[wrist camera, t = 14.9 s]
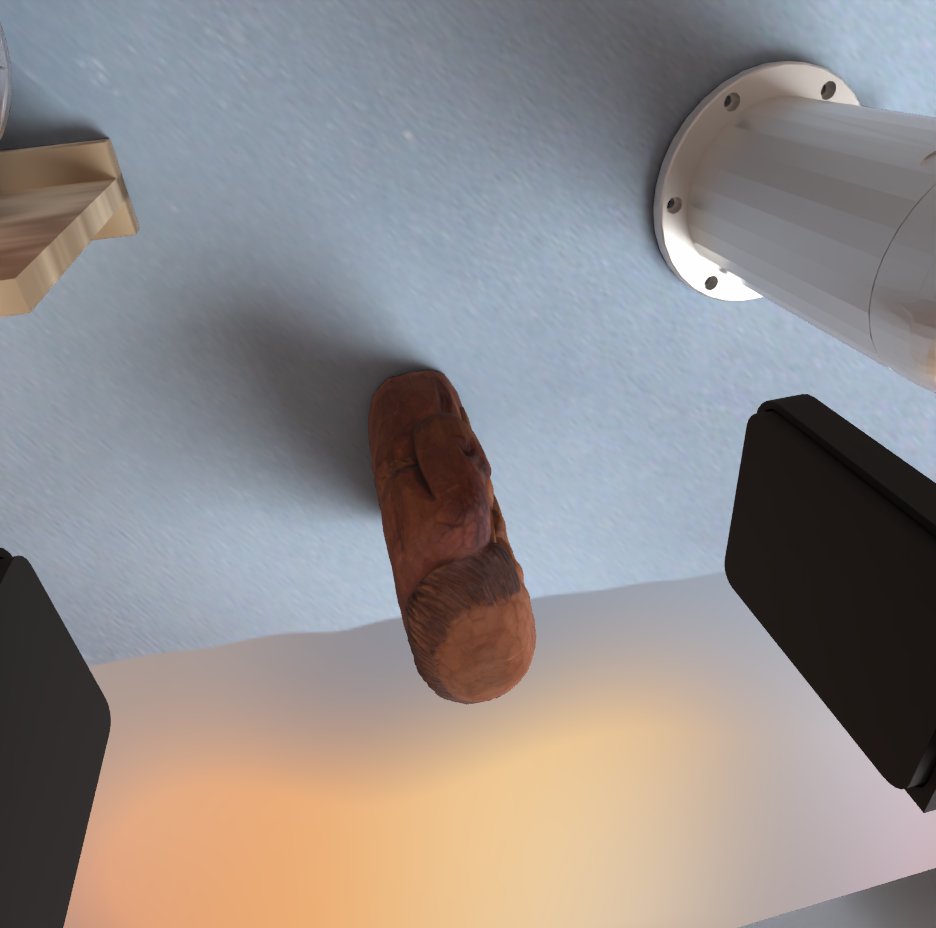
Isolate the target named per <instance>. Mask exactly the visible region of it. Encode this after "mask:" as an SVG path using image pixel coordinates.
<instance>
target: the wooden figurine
mask: <svg viewBox="0 0 936 928" xmlns="http://www.w3.org/2000/svg"><path fill="white" fill-rule="evenodd" d="M368 429H369V443H370V449H371V458H372V470H373V474H374V481H375V486H376V490H377V494H378V495H377V496H378V501H379V506H380V509H381V514H382V525H383V532H384V537H385V541H386V545H387V550H388V554H389V558H390V562H391V565H392V570H393V576H394V581H395V588H396V594H397V599H398V603H399V606H400V610H401V614H402V619H403V623H404V627H405V630H406V633H407V636H408V642H409V644H410V647H411V651H412V653H413V655H414V662H415V665H416V666H417V670H418V672H419V674H420V675H421V676H422V678H423V680H424V681H425V682H427V684H428V686H429V687H430V688H431V689H432V690H434V691H435V693H436V694H437V695H438V696H440V697H442V698H444V699H447V700H451V701H454V702H459V703H463V704H473V703H478V702H484V701H489V700H492V699H494V698H498V697H500V696H501V695H503V694H505V693H507V692H508V691H510V690H511V689H512V688H513V687H514V686H515V685H516V684H518V683H519V682H520V680H521V679H522V678H523V677H524V675H525V674H526V672H527V671H528V669H529V666H530V664H531V660H532V657H533V654H534V650H535V643H536V630H535V621H534V617H533V614H532V608H531V603H530V596H529V593H528V591H527V589H526V588H525V586H524V581H523V578H524V577H523V571H522V567H521V566H520V564H519V563H518V562H517V561H516V560H515V557H514V554H513V551H512V548H511V547H510V544H509V541H508V538H507V533H506V525H505V521H504V519H503V517H502V513H501V510H500V507H499V504H498V502H497V499H496V497H495V495H494V491H493V485H492V482H491V479H490V475H491V467H490V464H489V462H488V460H487V458H486V455H485V453H484V451H483V449H482V447H481V445H480V443H479V441H478V439H477V437H476V435H475V434H474V432H473V431H472V429H471V425H470V422H469V418H468V416H467V414H466V412H465V410H464V408H463V407H462V404H461V401H460V399H459V396H458V393H457V391H456V390H455V388H454V387H453V386H452V384H451V382H450V381H449V380H448V379H447V378H446V376H445V374H443V373H440V372H435V371H431V370H425V371H419V372H410V373H406V374H403V375H400V376H396V377H390V378H388V379H387V380H385V381H384V382H383V384H382V385H381V386H380V387H379V388H378V389H377V391H376V392H375V394H374V396H373V398H372V403H371V408H370V413H369V422H368Z"/></svg>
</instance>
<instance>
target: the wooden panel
mask: <svg viewBox="0 0 936 928" xmlns="http://www.w3.org/2000/svg"><path fill="white" fill-rule="evenodd" d="M138 230H139V225H138V222H137V219H136V216H135V213H134V210H133V207H132V204H131V201H130V198H129V195H128V192H127V189H126V186H125V183H124V180H123V177H122V174H121V171H120V168H119V165H118V162H117V159H116V156H115V153H114V150H113V147H112V144H111V141H110V139H102V140H93V141H84V142H75V143H66V144H58V145H49V146H40V147H31V148H22V149H14V150H5V151H0V317H5V316H12V315H19V314H25V313H30V312H31V311H32V310H33V309H34V308H35V306H36V305H37V304H38V303H39V302H40V301H41V299H42V298H43V297H44V296H45V295H46V293H47V292H48V291H49V290H50V289H51V288H52V286H53V285H54V284H55V283H56V282H57V280H58V279H59V278H60V277H61V276H62V274H63V273H64V272H65V271H66V270H67V269H68V267H69V266H70V265H71V264H72V263H73V261H74V260H75V259H76V258H77V257H78V256H79V254H80V253H81V252H82V251H83V250H84V248H85V247H86V246H87V245H88V244H89V243H90V241H91V240H98V239H106V238H113V237H121V236H128V235H135V234H136V233H137V231H138Z"/></svg>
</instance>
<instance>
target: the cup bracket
mask: <svg viewBox="0 0 936 928" xmlns="http://www.w3.org/2000/svg"><path fill="white" fill-rule="evenodd" d="M11 93H12V80H11V64H10V59H9V54H8V49H7V43H6V39H5V36H4V33H3V29H2V26H1V23H0V141H1V138H2V136H3V134H4V131H5V129H6V125H7V121H8V116H9V112H10V106H11Z"/></svg>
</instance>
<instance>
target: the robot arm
mask: <svg viewBox="0 0 936 928" xmlns="http://www.w3.org/2000/svg"><path fill="white" fill-rule="evenodd" d="M726 97H727V101H726V103H725V104H724V102H725V99H726ZM670 199H671V202H670V204H669V205H668V206H667V204H668V202H669V200H670ZM653 213H654V228H655V234H656V237H657V241H658V245H659V249H660V251H661V253H662V255H663V257H664V259H665V261H666V263H667V265H668V267H669V268H670V269H671V270H672V271H673V272H674V274H675V275H676V276H677V277H678V278H679V279H680V280H681V281H683V282H684V283H685V284H687V285H688V286H689V287H691V288H692V289H694V290H695V291H697V292H699V293H700V294H702V295H704V296H707V297H710V298H714V299H718V300H721V301H746V300H752V299H758V298H761V297H765V298H766V299H768V300H770V301H771V302H773V303H775V304H777V305H778V306H780V307H782V308H784V309H785V310H787V311H789V312H791V313H792V314H794V315H796V316H797V317H799V318H801V319H803V320H804V321H806V322H808V323H810V324H811V325H813V326H815V327H817V328H818V329H820V330H822V331H823V332H825V333H827V334H829V335H830V336H832V337H834V338H836V339H837V340H839V341H841V342H843V343H844V344H846V345H848V346H849V347H851V348H853V349H855V350H856V351H858V352H860V353H862V354H863V355H865V356H867V357H868V358H870V359H872V360H874V361H876V362H877V363H879V364H881V365H883V366H885V367H886V368H888V369H890V370H892V371H894V372H896V373H897V374H899V375H901V376H902V377H904V378H906V379H908V380H909V381H911V382H913V383H915V384H917V385H918V386H921V387H923V388H925V389H927V390H930V391H932V392H934V393H936V117H930V116H924V115H917V114H910V113H904V112H897V111H890V110H884V109H877V108H870V107H864V106H861V104H860V103H859V101H858V99H857V97H856V95H855V93H854V91H853V90H852V89H851V88H850V87H849V86H848V85H847V84H846V83H845V82H844V80H843V79H842V78H841V77H839V76H838V75H836V74H834V73H833V72H831V71H829V70H828V69H826V68H824V67H821V66H817V65H814V64H810V63H806V62H796V61H779V62H771V63H764V64H761V65H758V66H755V67H752V68H749V69H746V70H744V71H742V72H740V73H738V74H737V75H735V76H733V77H731V78H730V79H728V80H726V81H725V82H723V83H722V84H720V85H719V86H718V87H717V88H716V89H714V90H713V91H712V92H711V93H710V94H708V95H707V96H706V97H705V98H704V99H703V100H702V101H701V102H700V103H699V104H698V105H697V107H696V108H695V109H694V110H693V111H692V112H691V113H690V115H689V116H688V117H687V118H686V119H685V121H684V123H683V124H682V126H681V127H680V129H679V130H678V132H677V134H676V135H675V137H674V138H673V140H672V142H671V144H670V147H669V149H668V151H667V153H666V156H665V158H664V160H663V162H662V165H661V169H660V173H659V176H658V180H657V184H656V189H655V198H654V207H653ZM725 572H726V576H727V579H728V581H729V583H730V585H731V586H732V588H733V589H734V590H735V592H736V593H737V594H738V595H739V597H740V598H741V599H742V600H743V602H744V603H745V604H746V605H747V607H748V608H749V609H750V610H751V612H752V613H753V614H754V615H755V617H756V618H757V619H758V620H759V622H760V623H761V624H762V625H763V627H764V628H765V629H766V630H767V632H768V633H769V634H770V636H771V637H772V638H773V639H774V641H775V642H776V643H777V644H778V646H779V647H780V648H781V649H782V651H783V652H784V653H785V654H786V656H788V658H789V659H790V661H791V662H792V663H793V664H794V666H795V667H796V668H797V669H798V671H799V672H800V673H801V674H802V676H803V677H804V678H805V679H806V681H807V682H808V683H809V684H810V686H811V687H812V688H813V689H814V691H815V692H816V693H817V694H818V695H819V697H820V698H821V699H822V701H823V702H824V703H825V704H826V706H827V707H828V708H829V709H830V711H831V712H832V713H833V714H834V716H835V717H836V718H837V720H838V721H839V722H840V723H841V724H842V726H843V727H844V728H845V729H846V731H847V732H848V733H849V734H850V736H851V737H852V738H853V740H854V741H855V742H856V743H857V744H858V746H859V747H860V748H861V750H862V751H863V752H864V753H865V755H866V756H867V757H868V758H869V760H870V761H871V762H872V763H873V765H874V766H875V767H876V768H877V770H878V771H879V772H880V773H881V775H882V776H883V777H884V778H885V779H886V780H887V781H888V782H889V783H890V784H891V785H893V786H894V787H896V788H899V789H905V790H906V791H907V793H908V794H909V795H910V797H911V798H912V799H913V800H914V802H916V804H917V805H918V806H919V807H920V809H921V810H922V811H923V813H926V812H929V811H933V810H936V483H935V482H933V481H932V480H930V479H929V478H927V477H926V476H925V475H923V474H922V473H920V472H919V471H918V470H916V469H915V468H913V467H912V466H911V465H909V464H908V463H906V462H905V461H903V460H902V459H901V458H899V457H898V456H896V455H895V454H894V453H892V452H891V451H889V450H888V449H886V448H885V447H884V446H882V445H881V444H879V443H878V442H877V441H875V440H874V439H872V438H871V437H869V436H868V435H867V434H865V433H864V432H862V431H861V430H860V429H858V428H857V427H855V426H854V425H853V424H851V423H850V422H848V421H847V420H845V419H844V418H843V417H841V416H840V415H838V414H837V413H836V412H834V411H833V410H831V409H830V408H828V407H827V406H826V405H824V404H823V403H821V402H820V401H819V400H817V399H816V398H814V397H812V396H810V395H808V394H801V395H796V396H791V397H785V398H780V399H775V400H770V401H766V402H764V403H762V404H761V406H760V407H759V409H758V411H757V414H754V415H752V416H751V417H750V419H749V420H748V423H747V428H746V434H745V440H744V446H743V452H742V458H741V464H740V471H739V477H738V483H737V489H736V495H735V501H734V507H733V513H732V520H731V526H730V532H729V538H728V544H727V550H726V556H725ZM110 722H111V718H110V710H109V706H108V703H107V701H106V699H105V697H104V695H103V693H102V691H101V689H100V688H99V686H98V684H97V682H96V681H95V679H94V677H93V675H92V673H91V672H90V670H89V668H88V666H87V664H86V663H85V661H84V659H83V657H82V655H81V654H80V652H79V650H78V648H77V646H76V645H75V643H74V641H73V639H72V637H71V636H70V634H69V632H68V630H67V628H66V627H65V625H64V623H63V621H62V620H61V618H60V616H59V614H58V612H57V611H56V609H55V607H54V605H53V603H52V602H51V600H50V598H49V596H48V594H47V593H46V591H45V589H44V587H43V585H42V584H41V582H40V580H39V578H38V577H37V575H36V573H35V571H34V569H33V568H32V566H31V564H30V563H29V561H28V560H27V559H26V558H24V557H23V556H14V557H12V556H11V554H10V553H9V552H8V551H6V550H5V549H4V548H0V928H63V926H64V922H65V918H66V914H67V910H68V905H69V901H70V897H71V892H72V888H73V884H74V880H75V876H76V871H77V867H78V863H79V858H80V855H81V850H82V846H83V842H84V838H85V834H86V829H87V825H88V821H89V817H90V812H91V808H92V804H93V800H94V796H95V791H96V787H97V783H98V779H99V774H100V770H101V766H102V762H103V757H104V753H105V749H106V745H107V741H108V737H109V732H110V724H111V723H110ZM739 928H936V868H935V869H931V870H928V871H925V872H922V873H918V874H915V875H911V876H908V877H905V878H902V879H898V880H895V881H892V882H888V883H885V884H882V885H878V886H875V887H871V888H869V889H865V890H862V891H859V892H855V893H852V894H848V895H845V896H842V897H838V898H835V899H832V900H828V901H825V902H822V903H818V904H815V905H812V906H808V907H805V908H802V909H799V910H795V911H792V912H789V913H785V914H782V915H779V916H776V917H772V918H769V919H765V920H762V921H759V922H756V923H752V924H749V925H746V926H742V927H739Z"/></svg>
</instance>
